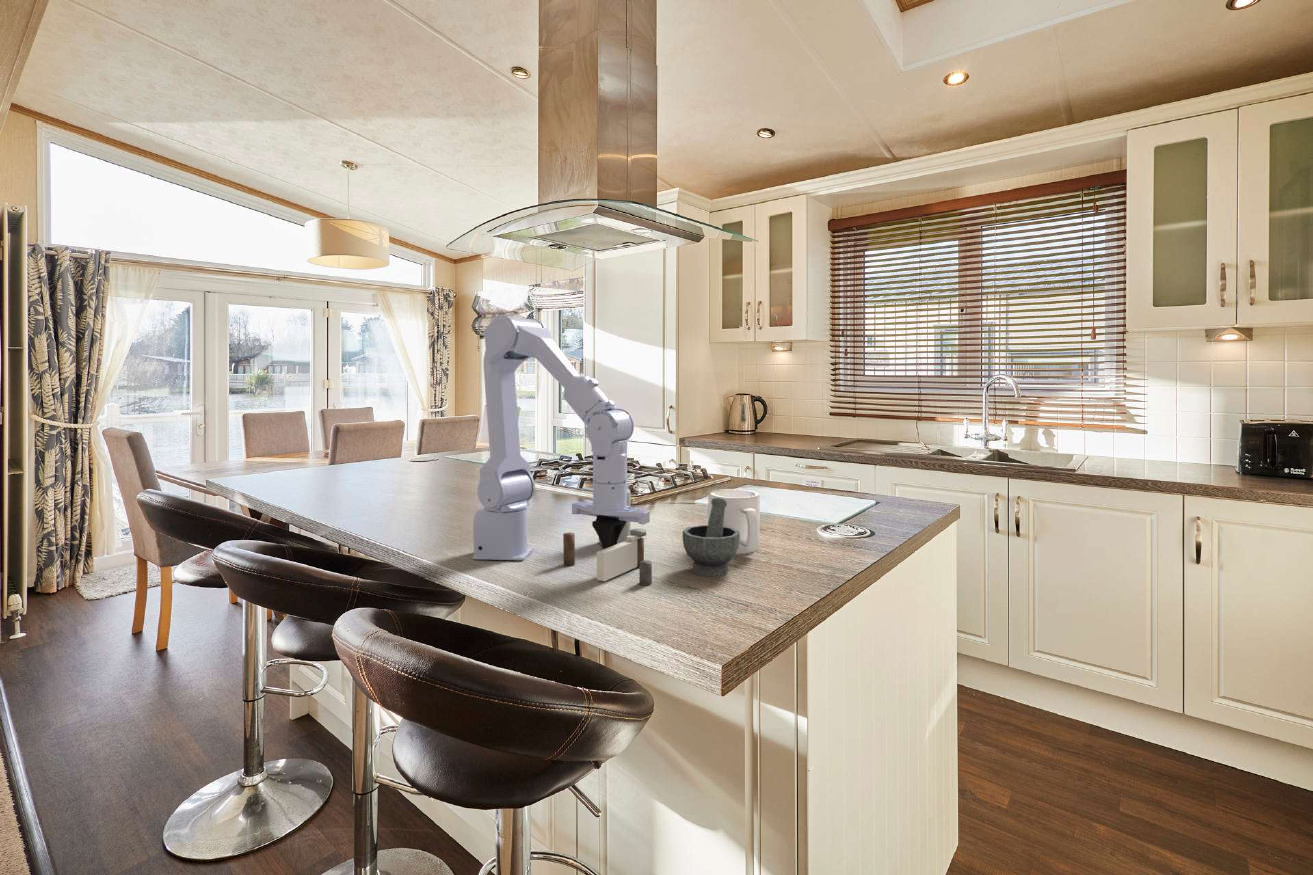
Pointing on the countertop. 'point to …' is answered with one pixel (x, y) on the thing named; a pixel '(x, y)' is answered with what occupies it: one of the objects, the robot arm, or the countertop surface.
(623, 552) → the gate
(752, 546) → the mug
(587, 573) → the countertop surface
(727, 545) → the mortar and pestle
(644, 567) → the posts
